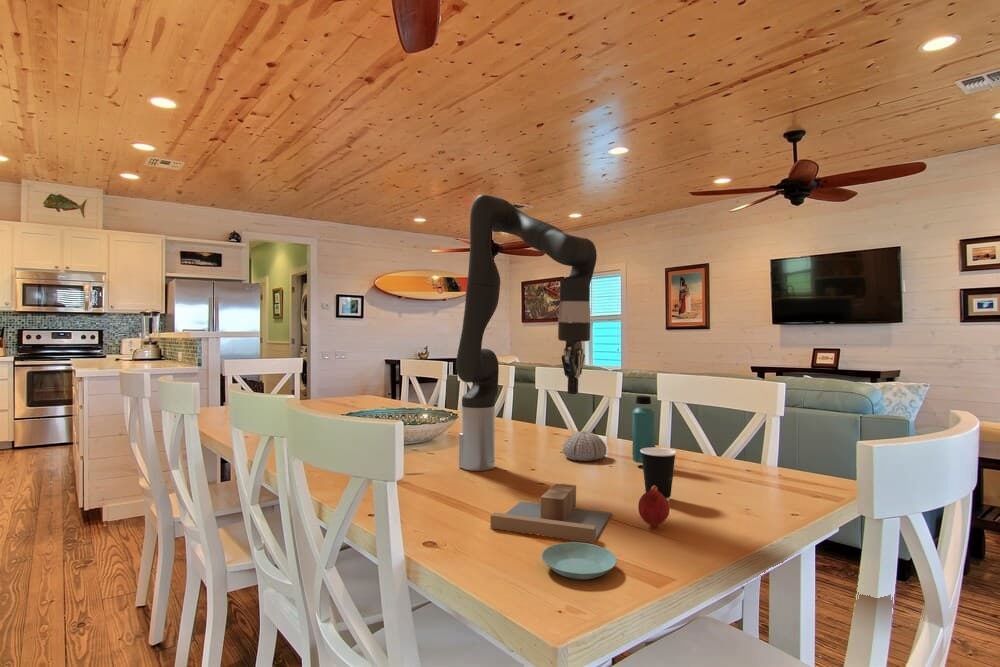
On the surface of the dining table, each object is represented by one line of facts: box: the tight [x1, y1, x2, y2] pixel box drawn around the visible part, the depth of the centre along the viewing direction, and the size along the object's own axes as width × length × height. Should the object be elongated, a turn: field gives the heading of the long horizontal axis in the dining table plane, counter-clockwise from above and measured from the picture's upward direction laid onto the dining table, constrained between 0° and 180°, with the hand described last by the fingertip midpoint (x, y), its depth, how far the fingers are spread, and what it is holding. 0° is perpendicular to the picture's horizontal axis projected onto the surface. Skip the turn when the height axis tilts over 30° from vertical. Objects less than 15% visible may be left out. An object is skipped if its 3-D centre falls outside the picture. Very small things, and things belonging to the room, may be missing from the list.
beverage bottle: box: [631, 395, 657, 464], centre depth 155 cm, size 6×7×20 cm
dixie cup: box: [640, 447, 678, 502], centre depth 124 cm, size 8×8×11 cm
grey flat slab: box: [490, 501, 612, 544], centre depth 109 cm, size 20×17×2 cm
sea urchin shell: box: [562, 431, 608, 462], centre depth 165 cm, size 13×14×8 cm
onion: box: [637, 485, 670, 528], centre depth 106 cm, size 6×6×8 cm
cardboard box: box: [540, 482, 577, 521], centre depth 113 cm, size 4×4×11 cm
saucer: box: [541, 541, 618, 581], centre depth 87 cm, size 12×12×2 cm
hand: (572, 393), depth 130 cm, fingers closed
